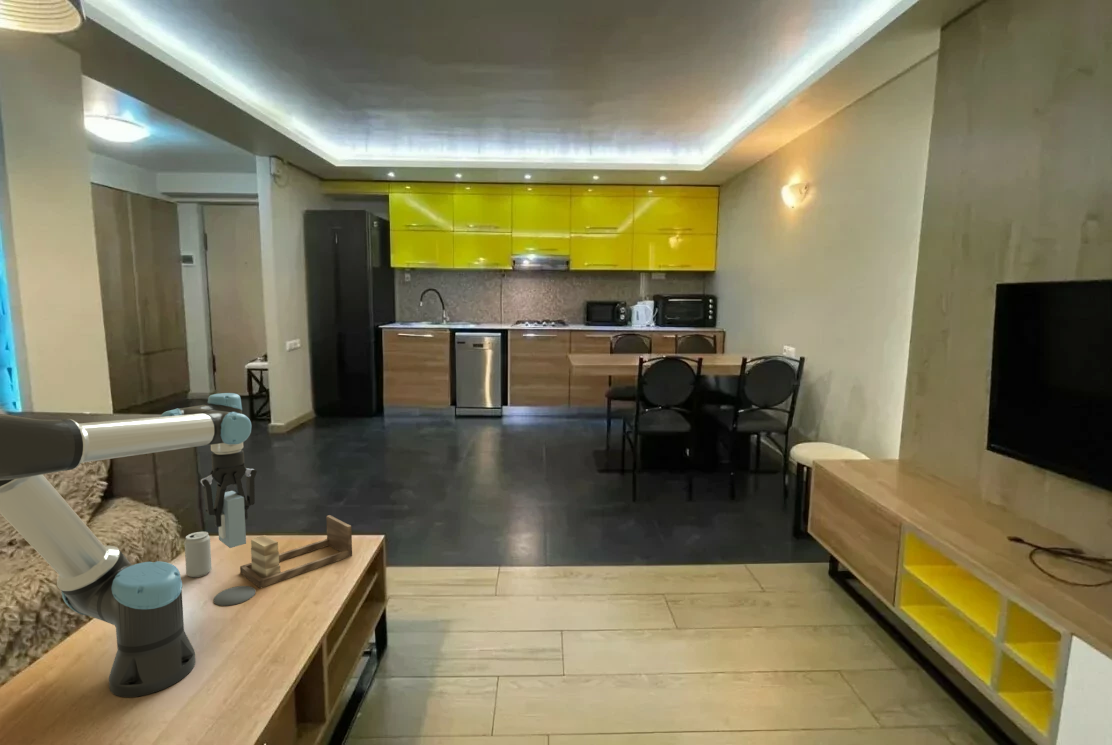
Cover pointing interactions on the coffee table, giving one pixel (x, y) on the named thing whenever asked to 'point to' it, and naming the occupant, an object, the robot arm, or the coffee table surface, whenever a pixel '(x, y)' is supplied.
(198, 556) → the beverage can
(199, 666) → the coffee table surface
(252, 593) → the coaster
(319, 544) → the rack
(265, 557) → the offcut
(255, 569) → the offcut
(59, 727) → the coffee table surface
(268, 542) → the offcut
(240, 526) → the light blue block
